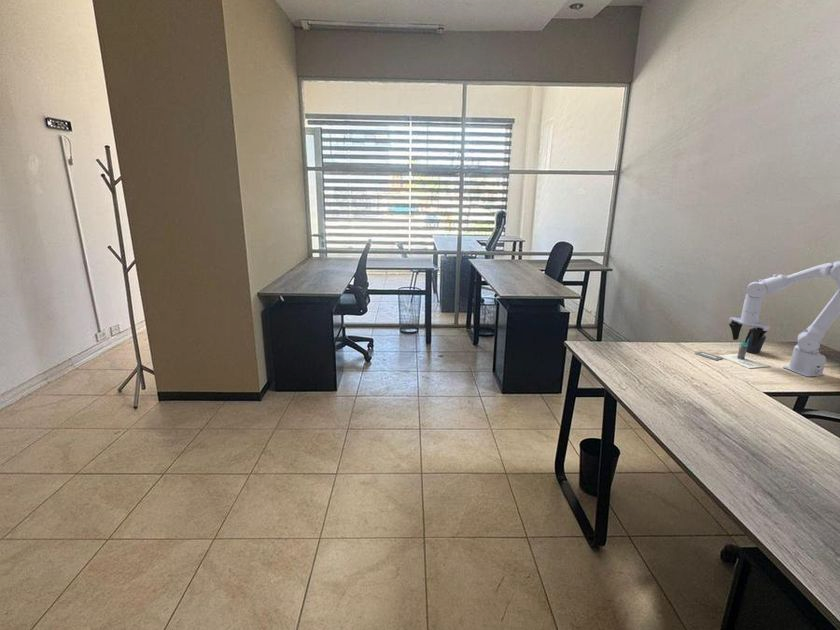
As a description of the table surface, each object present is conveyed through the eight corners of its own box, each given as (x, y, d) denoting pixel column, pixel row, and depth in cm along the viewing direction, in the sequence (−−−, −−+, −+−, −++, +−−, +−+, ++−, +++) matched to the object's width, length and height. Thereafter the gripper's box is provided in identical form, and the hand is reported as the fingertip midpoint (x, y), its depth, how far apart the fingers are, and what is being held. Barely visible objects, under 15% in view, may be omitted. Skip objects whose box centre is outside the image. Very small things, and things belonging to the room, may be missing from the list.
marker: (745, 359, 176) (749, 344, 174) (738, 359, 176) (742, 343, 174) (742, 357, 178) (746, 342, 176) (735, 357, 179) (739, 341, 177)
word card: (723, 358, 178) (723, 357, 178) (716, 360, 176) (716, 359, 176) (701, 351, 186) (701, 351, 186) (694, 353, 184) (694, 353, 184)
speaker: (736, 347, 190) (744, 326, 186) (747, 347, 191) (755, 326, 187) (751, 355, 183) (759, 333, 180) (762, 355, 184) (770, 333, 180)
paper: (769, 366, 170) (769, 365, 169) (748, 368, 168) (748, 367, 168) (737, 354, 183) (737, 353, 183) (718, 356, 181) (718, 355, 181)
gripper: (777, 314, 166) (769, 346, 170) (739, 306, 179) (733, 336, 183) (765, 316, 164) (758, 348, 168) (728, 307, 177) (722, 338, 181)
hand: (744, 342), depth 175 cm, fingers open, 7 cm apart
